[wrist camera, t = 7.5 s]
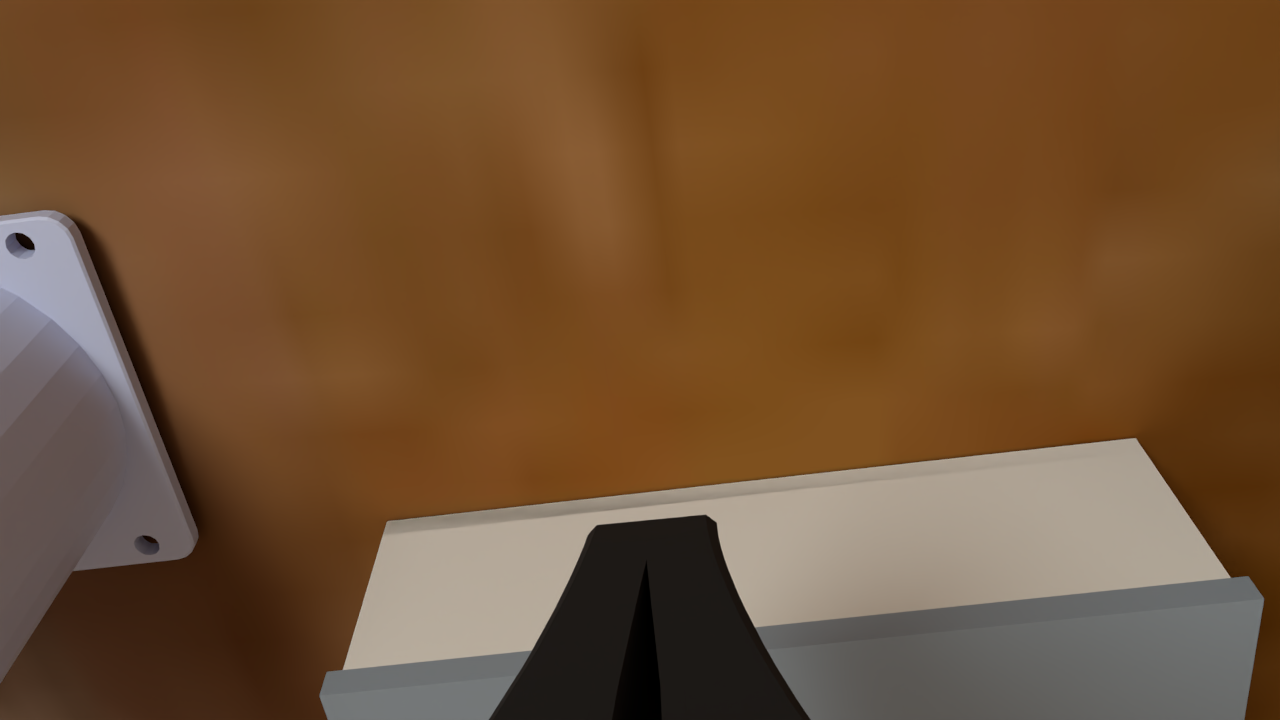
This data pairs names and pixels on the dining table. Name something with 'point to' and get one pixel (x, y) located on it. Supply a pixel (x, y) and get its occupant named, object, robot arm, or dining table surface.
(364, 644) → the box
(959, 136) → the dining table surface
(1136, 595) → the lid
